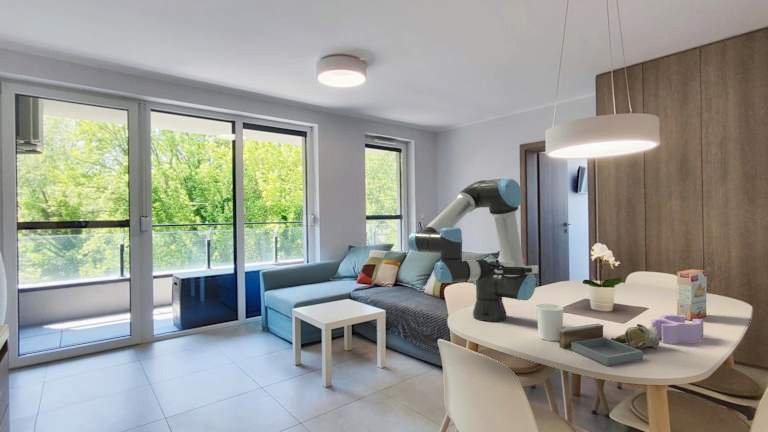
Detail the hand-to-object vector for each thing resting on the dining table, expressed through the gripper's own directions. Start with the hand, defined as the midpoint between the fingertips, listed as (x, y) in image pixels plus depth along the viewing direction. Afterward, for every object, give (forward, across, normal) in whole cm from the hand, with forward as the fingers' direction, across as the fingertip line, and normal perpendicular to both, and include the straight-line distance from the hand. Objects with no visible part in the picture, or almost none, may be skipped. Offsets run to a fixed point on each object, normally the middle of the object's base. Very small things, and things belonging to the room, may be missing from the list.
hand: (525, 266), depth 146 cm
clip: (+55, +16, -28) cm, 64 cm away
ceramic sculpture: (+33, +19, -29) cm, 48 cm away
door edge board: (+16, +10, -28) cm, 34 cm away
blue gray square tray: (+16, +21, -28) cm, 39 cm away
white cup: (+11, 0, -28) cm, 31 cm away
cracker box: (+88, 0, -28) cm, 93 cm away
